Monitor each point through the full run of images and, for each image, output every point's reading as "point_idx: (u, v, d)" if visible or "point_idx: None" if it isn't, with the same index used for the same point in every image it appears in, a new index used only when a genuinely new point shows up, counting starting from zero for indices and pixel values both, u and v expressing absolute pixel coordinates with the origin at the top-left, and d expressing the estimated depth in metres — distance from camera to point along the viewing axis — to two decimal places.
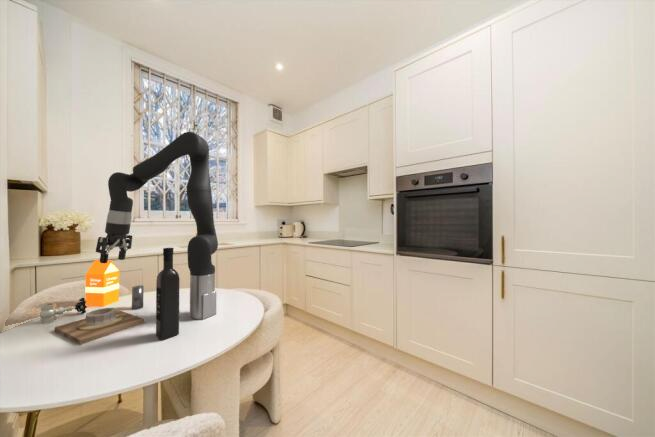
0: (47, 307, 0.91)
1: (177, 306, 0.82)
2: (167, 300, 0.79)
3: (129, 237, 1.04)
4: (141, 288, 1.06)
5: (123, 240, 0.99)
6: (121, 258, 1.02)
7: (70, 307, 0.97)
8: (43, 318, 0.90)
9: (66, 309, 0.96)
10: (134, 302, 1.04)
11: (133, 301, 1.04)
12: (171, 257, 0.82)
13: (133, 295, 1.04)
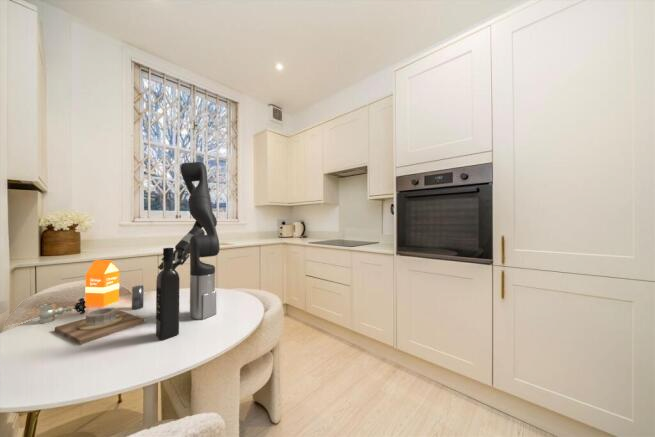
0: (46, 307, 0.90)
1: (177, 306, 0.82)
2: (167, 300, 0.79)
3: None
4: (141, 288, 1.06)
5: (176, 253, 1.20)
6: None
7: (69, 307, 0.96)
8: (42, 318, 0.90)
9: (65, 309, 0.95)
10: (134, 302, 1.04)
11: (133, 301, 1.04)
12: (171, 257, 0.82)
13: (133, 295, 1.04)
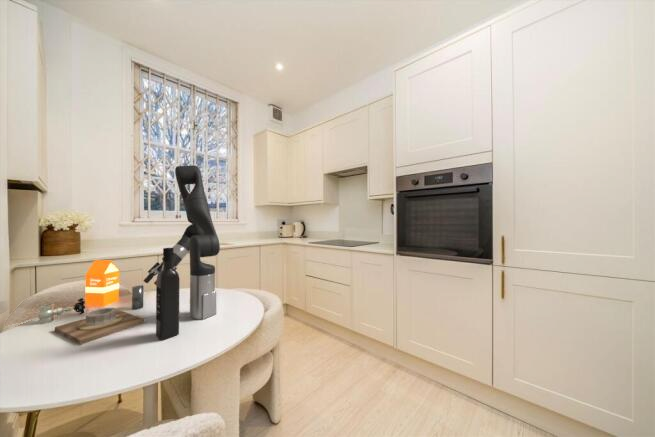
0: (45, 307, 0.90)
1: (177, 306, 0.82)
2: (167, 300, 0.79)
3: None
4: (141, 288, 1.06)
5: None
6: None
7: (69, 307, 0.96)
8: (41, 318, 0.90)
9: (64, 309, 0.95)
10: (134, 302, 1.04)
11: (133, 301, 1.04)
12: (171, 257, 0.82)
13: (133, 295, 1.04)
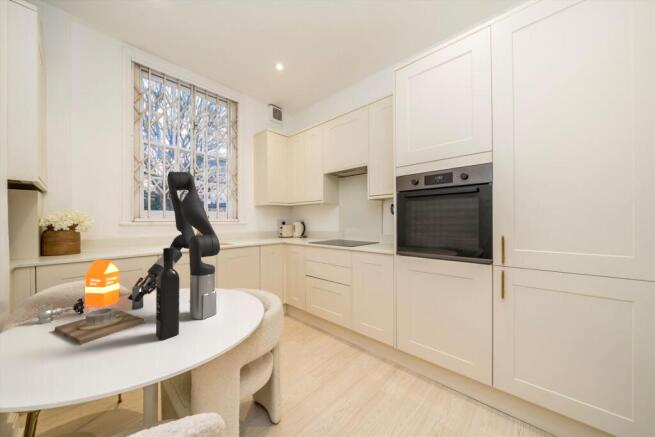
0: (44, 308, 0.90)
1: (177, 306, 0.82)
2: (167, 300, 0.79)
3: None
4: (141, 288, 1.06)
5: (148, 279, 1.09)
6: None
7: (68, 308, 0.96)
8: (40, 319, 0.90)
9: (64, 310, 0.95)
10: (134, 302, 1.04)
11: (133, 301, 1.04)
12: (171, 257, 0.82)
13: (133, 295, 1.04)
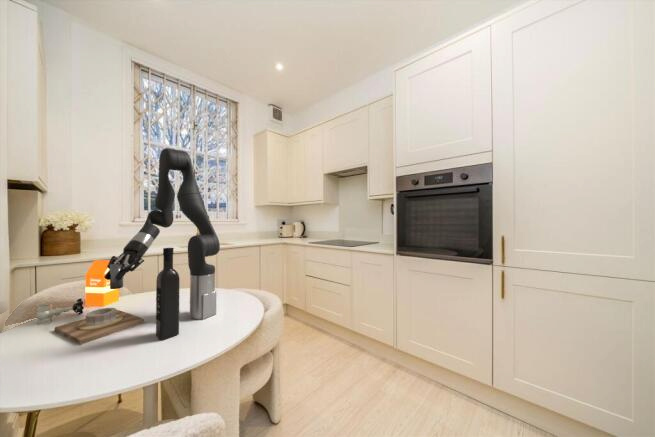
0: (43, 308, 0.90)
1: (177, 306, 0.82)
2: (167, 300, 0.79)
3: None
4: (122, 265, 0.97)
5: (127, 256, 1.00)
6: None
7: (67, 308, 0.96)
8: (39, 319, 0.89)
9: (63, 310, 0.95)
10: (115, 281, 0.95)
11: (113, 280, 0.94)
12: (171, 257, 0.82)
13: (113, 273, 0.94)
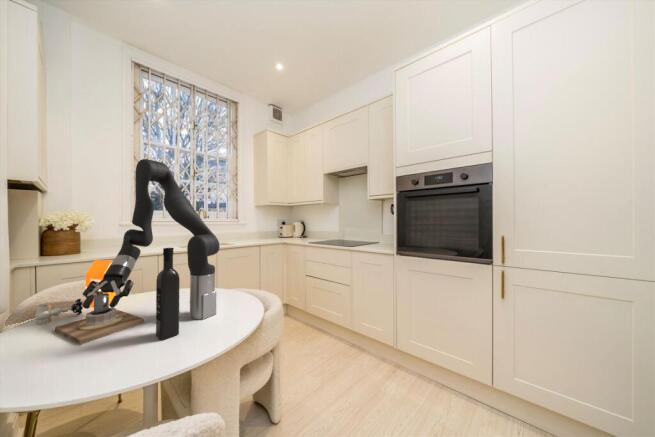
0: (42, 308, 0.89)
1: (177, 306, 0.82)
2: (167, 300, 0.79)
3: None
4: (108, 296, 0.89)
5: (112, 282, 0.92)
6: None
7: (66, 308, 0.95)
8: (38, 319, 0.89)
9: (62, 310, 0.94)
10: (101, 313, 0.87)
11: (100, 313, 0.86)
12: (171, 257, 0.82)
13: (99, 305, 0.86)
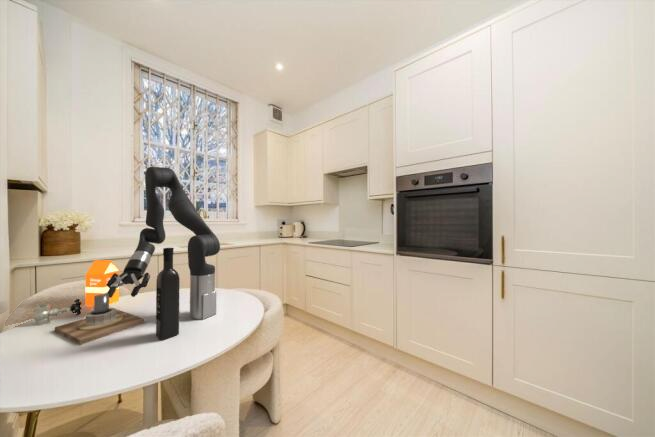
0: (41, 309, 0.89)
1: (177, 306, 0.82)
2: (167, 300, 0.79)
3: None
4: (108, 296, 0.89)
5: (132, 275, 1.03)
6: None
7: (65, 308, 0.95)
8: (37, 320, 0.89)
9: (61, 310, 0.94)
10: None
11: (100, 313, 0.86)
12: (171, 257, 0.82)
13: (99, 305, 0.86)
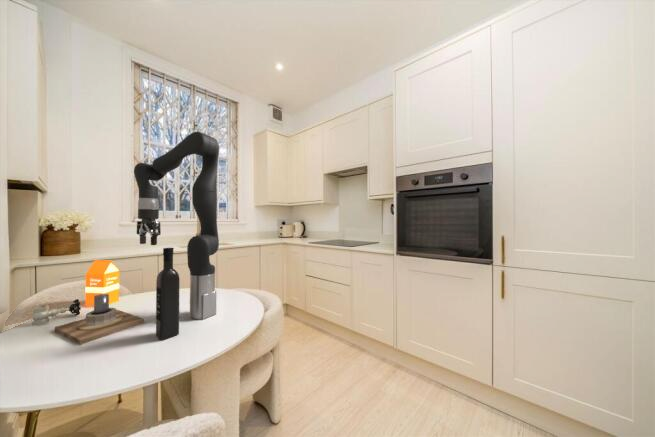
0: (40, 309, 0.89)
1: (177, 306, 0.82)
2: (167, 300, 0.79)
3: None
4: (108, 296, 0.89)
5: (145, 225, 1.06)
6: None
7: (64, 309, 0.95)
8: (36, 320, 0.88)
9: (59, 311, 0.94)
10: None
11: (99, 313, 0.86)
12: (171, 257, 0.82)
13: (99, 305, 0.86)
